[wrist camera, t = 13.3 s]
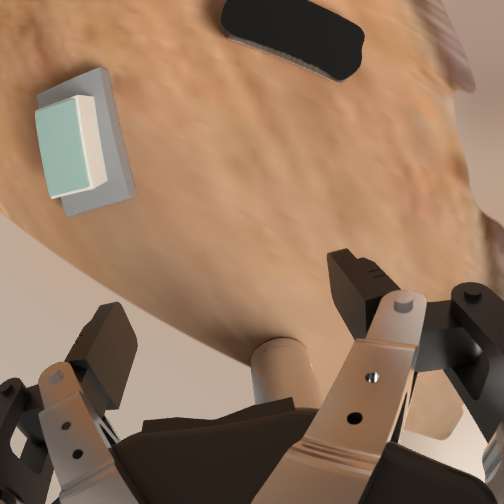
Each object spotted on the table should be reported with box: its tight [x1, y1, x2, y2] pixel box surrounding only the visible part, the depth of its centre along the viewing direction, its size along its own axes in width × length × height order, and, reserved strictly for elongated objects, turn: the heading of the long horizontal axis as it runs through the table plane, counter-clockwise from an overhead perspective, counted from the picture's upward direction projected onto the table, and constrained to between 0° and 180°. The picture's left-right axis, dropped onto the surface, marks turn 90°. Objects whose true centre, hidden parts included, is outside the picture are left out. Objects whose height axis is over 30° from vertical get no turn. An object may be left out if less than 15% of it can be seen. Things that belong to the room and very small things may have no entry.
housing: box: [35, 95, 108, 199], centre depth 29 cm, size 6×10×5 cm, turn 6°
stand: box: [36, 67, 137, 217], centre depth 33 cm, size 16×9×3 cm, turn 11°
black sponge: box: [221, 0, 365, 83], centre depth 30 cm, size 16×8×4 cm, turn 68°
